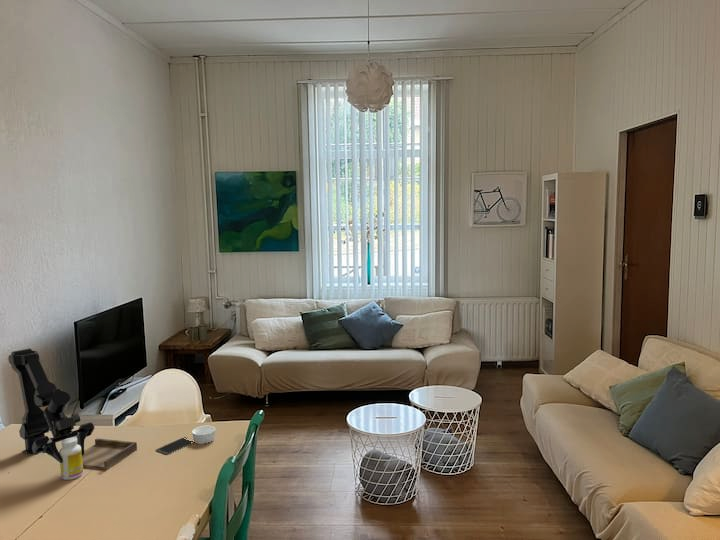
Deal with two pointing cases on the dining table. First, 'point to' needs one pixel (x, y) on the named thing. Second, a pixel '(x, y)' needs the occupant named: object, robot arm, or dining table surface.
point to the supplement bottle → (71, 459)
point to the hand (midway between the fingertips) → (72, 458)
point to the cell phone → (174, 446)
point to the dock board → (107, 453)
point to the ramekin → (203, 434)
